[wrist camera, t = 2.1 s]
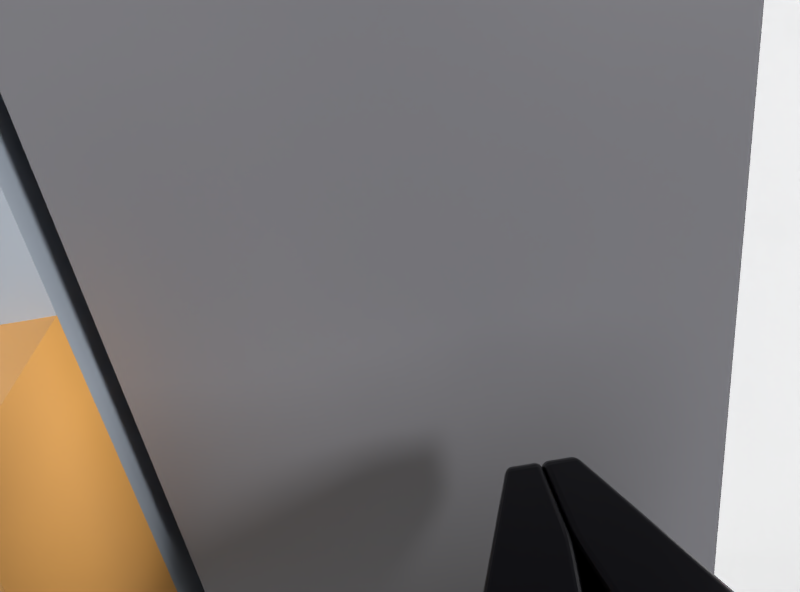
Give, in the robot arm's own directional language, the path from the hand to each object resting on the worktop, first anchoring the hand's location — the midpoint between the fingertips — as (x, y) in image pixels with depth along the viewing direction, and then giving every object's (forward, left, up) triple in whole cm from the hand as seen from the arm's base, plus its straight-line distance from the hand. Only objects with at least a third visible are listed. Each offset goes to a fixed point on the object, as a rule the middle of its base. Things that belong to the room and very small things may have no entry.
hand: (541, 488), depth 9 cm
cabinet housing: (0, +1, -7) cm, 7 cm away
